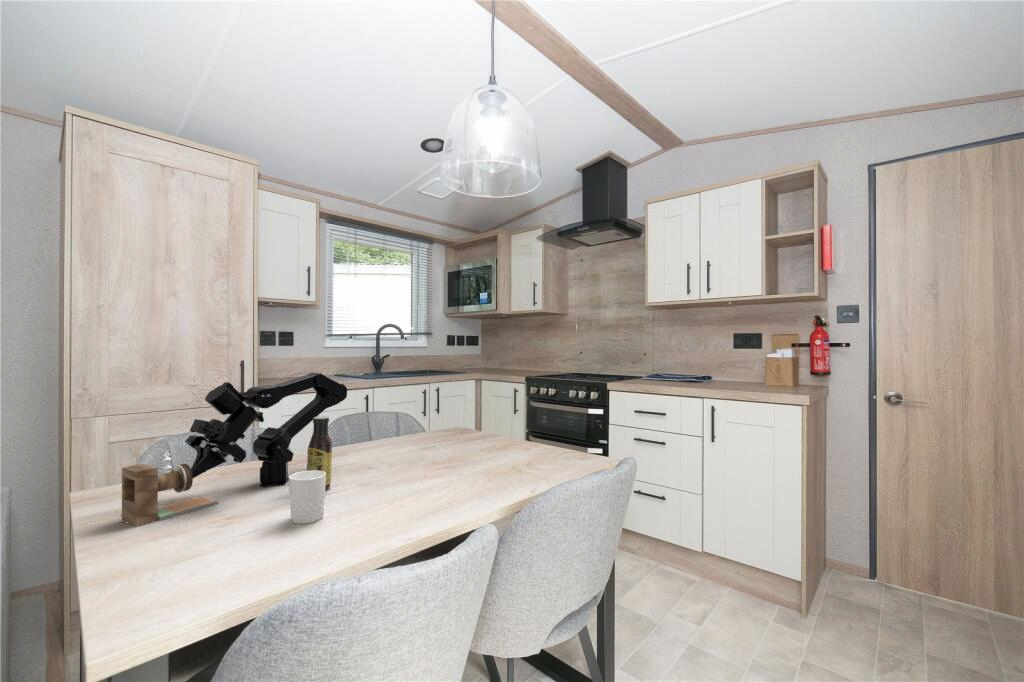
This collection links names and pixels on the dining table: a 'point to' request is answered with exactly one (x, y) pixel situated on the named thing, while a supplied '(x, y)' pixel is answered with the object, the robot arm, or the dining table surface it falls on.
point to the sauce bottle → (320, 449)
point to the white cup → (307, 496)
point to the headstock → (139, 494)
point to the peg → (176, 479)
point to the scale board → (184, 507)
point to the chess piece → (166, 462)
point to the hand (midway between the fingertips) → (190, 477)
